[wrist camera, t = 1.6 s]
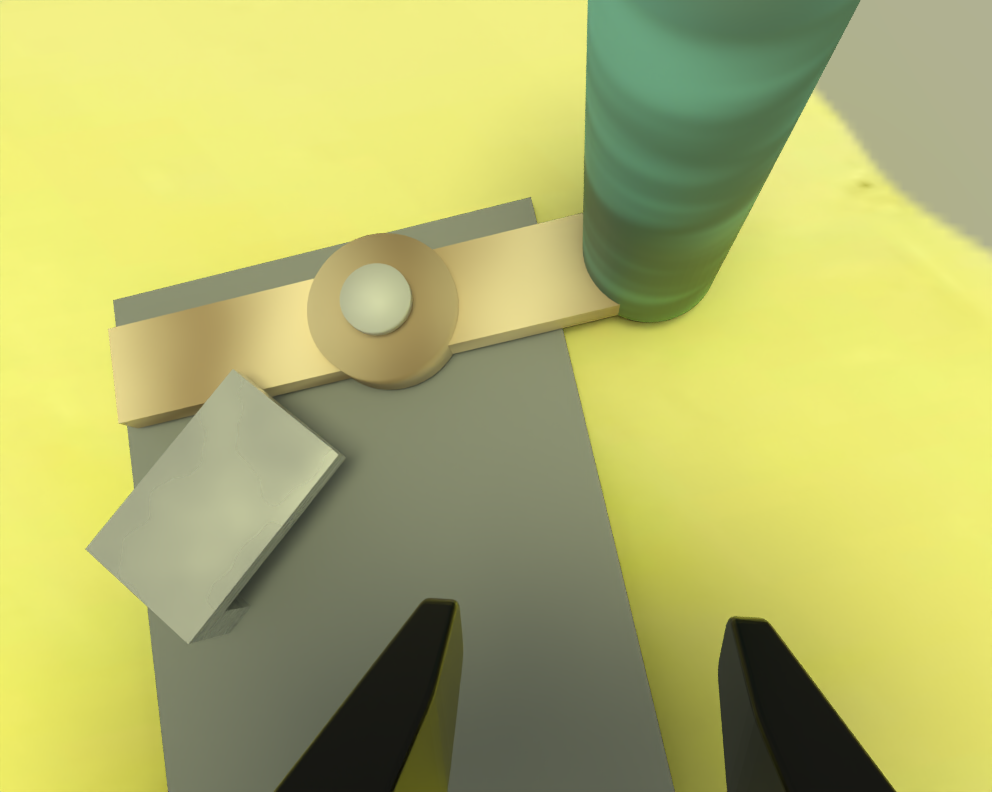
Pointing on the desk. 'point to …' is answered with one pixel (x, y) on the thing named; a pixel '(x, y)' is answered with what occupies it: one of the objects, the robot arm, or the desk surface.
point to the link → (545, 246)
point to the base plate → (422, 562)
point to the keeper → (215, 508)
